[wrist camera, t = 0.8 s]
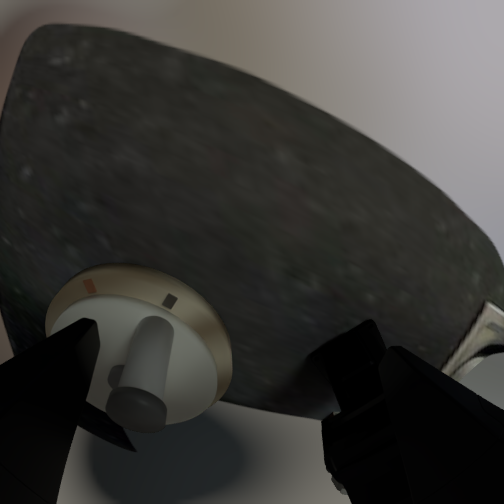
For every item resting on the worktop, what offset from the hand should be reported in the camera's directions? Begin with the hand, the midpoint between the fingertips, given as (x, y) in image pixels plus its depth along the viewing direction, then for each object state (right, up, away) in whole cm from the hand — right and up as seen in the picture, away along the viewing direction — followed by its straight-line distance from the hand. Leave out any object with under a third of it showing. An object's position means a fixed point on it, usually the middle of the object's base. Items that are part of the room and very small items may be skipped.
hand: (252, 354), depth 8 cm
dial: (-10, -6, +12) cm, 17 cm away
